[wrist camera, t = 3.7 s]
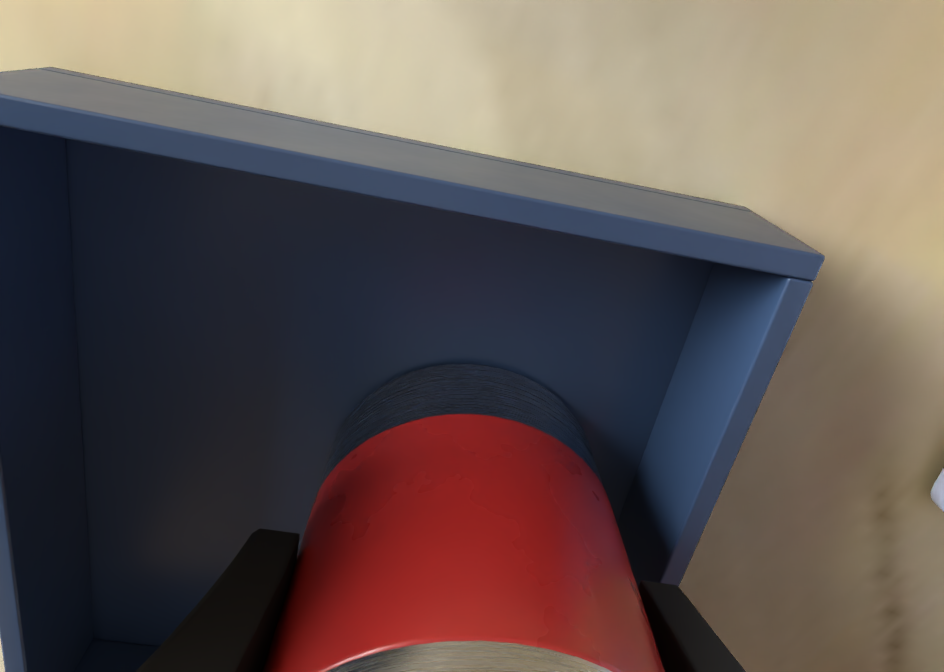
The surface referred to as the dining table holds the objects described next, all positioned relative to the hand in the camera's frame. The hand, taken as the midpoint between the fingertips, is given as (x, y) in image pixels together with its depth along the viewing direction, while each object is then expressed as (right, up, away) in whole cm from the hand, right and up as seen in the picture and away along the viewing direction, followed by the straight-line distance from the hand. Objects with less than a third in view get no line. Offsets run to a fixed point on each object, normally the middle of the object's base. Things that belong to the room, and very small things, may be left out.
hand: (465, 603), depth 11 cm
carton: (-2, +2, +3) cm, 4 cm away
